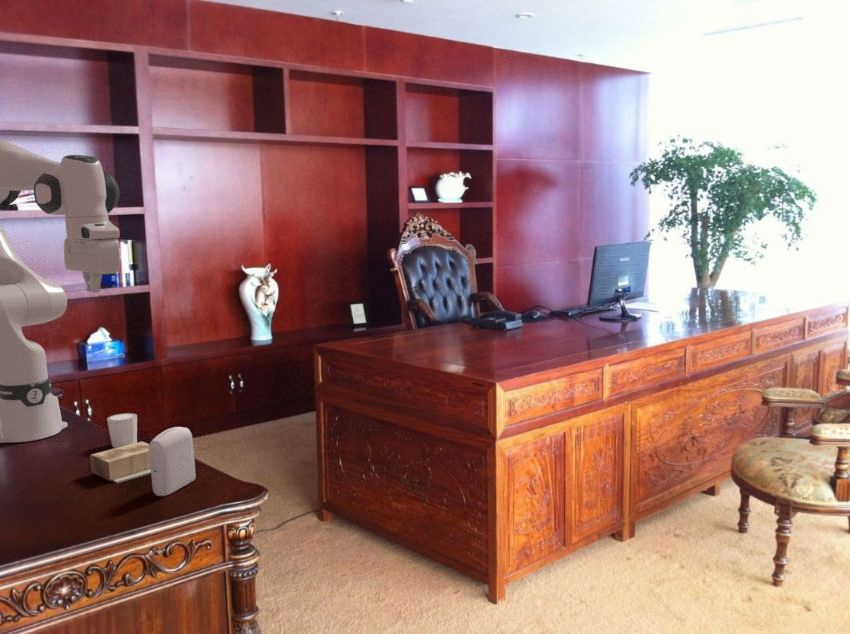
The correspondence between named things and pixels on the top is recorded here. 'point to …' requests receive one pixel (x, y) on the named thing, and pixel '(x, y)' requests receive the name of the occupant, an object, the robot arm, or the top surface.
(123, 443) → the white tapered cup
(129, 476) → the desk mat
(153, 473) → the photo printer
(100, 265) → the robot arm
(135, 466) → the oak block
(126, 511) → the top surface
